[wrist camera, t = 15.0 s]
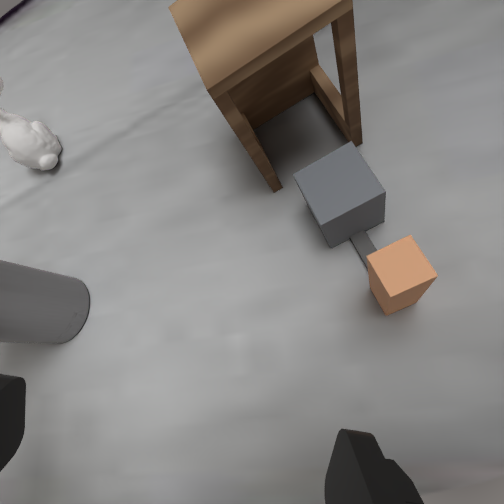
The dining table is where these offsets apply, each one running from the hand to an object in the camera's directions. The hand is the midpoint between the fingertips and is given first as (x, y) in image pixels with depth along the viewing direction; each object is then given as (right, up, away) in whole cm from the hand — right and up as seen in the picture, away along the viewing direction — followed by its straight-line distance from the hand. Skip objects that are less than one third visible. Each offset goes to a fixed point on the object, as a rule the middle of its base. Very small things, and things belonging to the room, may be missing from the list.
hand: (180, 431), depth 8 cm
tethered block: (+13, +5, +25) cm, 29 cm away
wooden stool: (+8, +19, +31) cm, 37 cm away
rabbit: (-35, +23, +50) cm, 65 cm away
